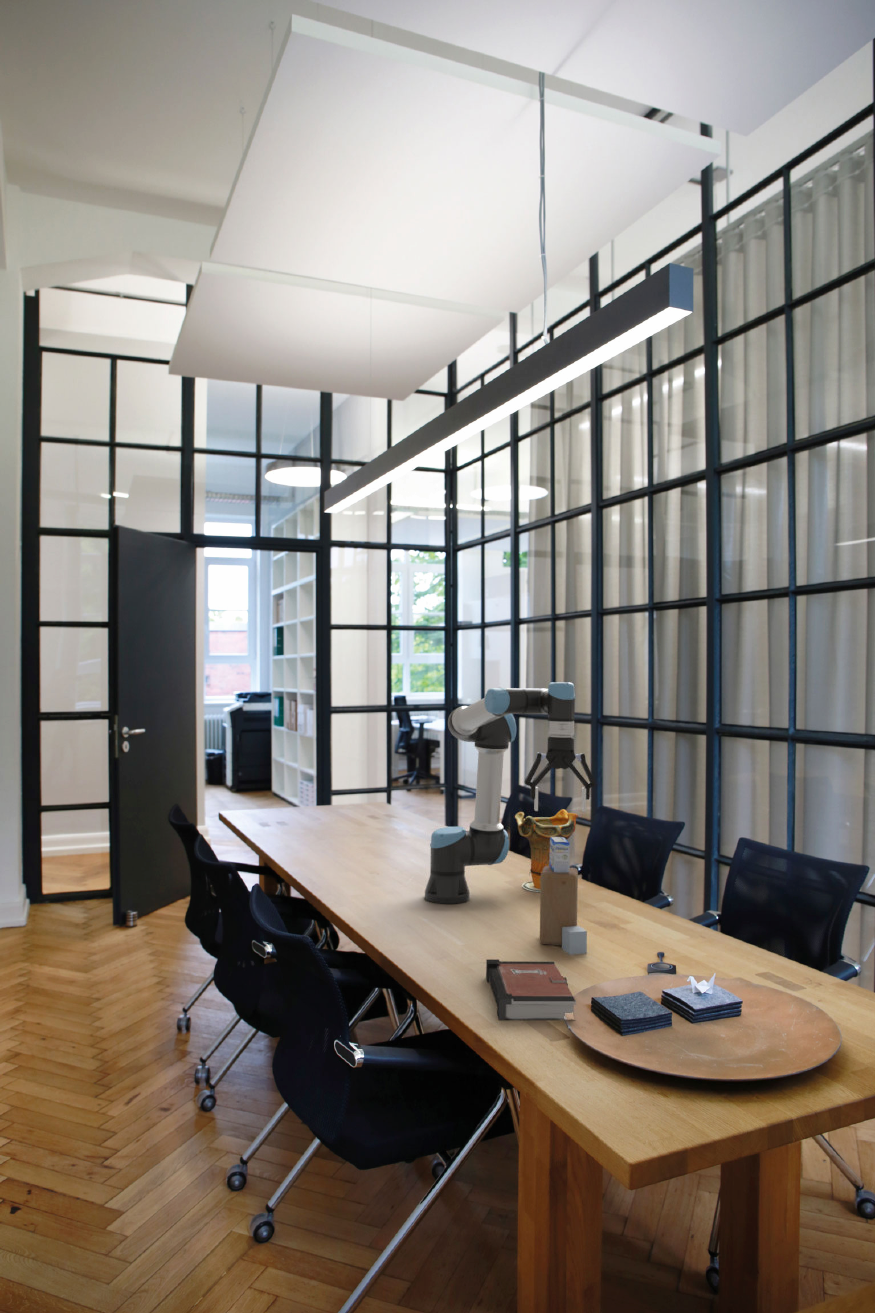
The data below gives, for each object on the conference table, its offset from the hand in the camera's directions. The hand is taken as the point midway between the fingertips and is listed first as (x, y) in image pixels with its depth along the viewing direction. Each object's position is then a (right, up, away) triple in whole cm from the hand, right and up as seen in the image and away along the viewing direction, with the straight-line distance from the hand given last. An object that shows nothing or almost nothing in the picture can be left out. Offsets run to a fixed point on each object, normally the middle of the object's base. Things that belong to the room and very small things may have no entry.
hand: (559, 810), depth 241 cm
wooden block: (-1, -37, -1) cm, 37 cm away
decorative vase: (+4, -39, +62) cm, 73 cm away
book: (-14, -36, -45) cm, 59 cm away
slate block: (+2, -37, -10) cm, 38 cm away
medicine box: (0, -17, -1) cm, 17 cm away
